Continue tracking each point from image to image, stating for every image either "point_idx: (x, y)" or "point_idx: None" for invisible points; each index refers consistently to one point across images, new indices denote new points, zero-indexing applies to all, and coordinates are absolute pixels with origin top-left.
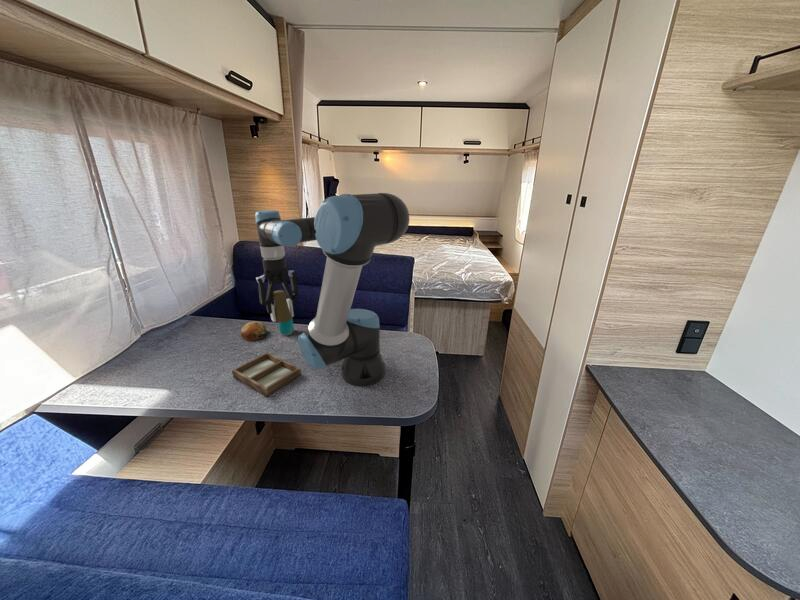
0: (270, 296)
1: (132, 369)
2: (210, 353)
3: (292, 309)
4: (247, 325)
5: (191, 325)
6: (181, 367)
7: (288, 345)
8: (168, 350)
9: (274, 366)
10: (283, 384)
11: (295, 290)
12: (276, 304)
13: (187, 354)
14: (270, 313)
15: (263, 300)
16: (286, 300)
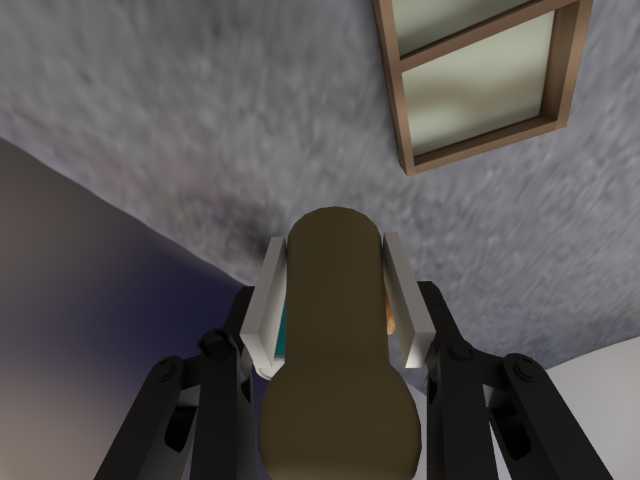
0: (473, 453)
1: (630, 300)
2: (489, 278)
3: (264, 270)
4: (390, 326)
5: None
6: (574, 257)
7: (315, 208)
8: (534, 327)
9: (440, 43)
10: None
11: (140, 448)
12: (383, 333)
13: (523, 298)
14: (423, 281)
15: (552, 416)
16: (264, 371)
